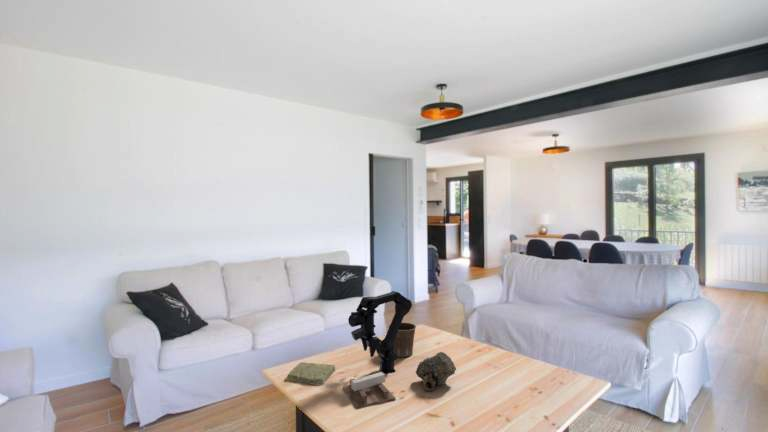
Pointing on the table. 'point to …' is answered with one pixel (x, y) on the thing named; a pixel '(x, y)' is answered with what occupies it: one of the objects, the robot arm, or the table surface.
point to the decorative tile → (311, 373)
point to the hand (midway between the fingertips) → (368, 353)
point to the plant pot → (404, 340)
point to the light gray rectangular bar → (367, 381)
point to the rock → (435, 370)
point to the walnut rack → (369, 395)
